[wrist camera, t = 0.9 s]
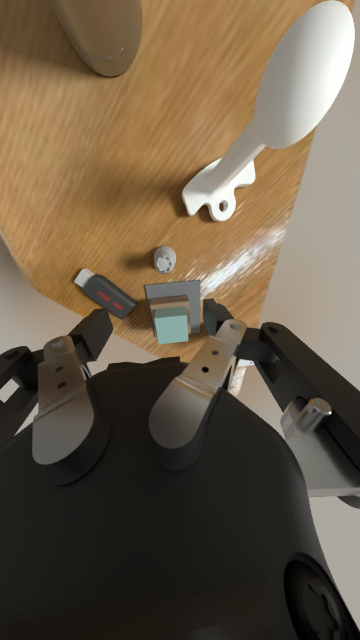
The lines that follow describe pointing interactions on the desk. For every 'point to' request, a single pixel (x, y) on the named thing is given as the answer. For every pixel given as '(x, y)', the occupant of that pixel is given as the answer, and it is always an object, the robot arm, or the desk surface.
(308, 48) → the white ball-topped post
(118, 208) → the desk surface
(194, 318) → the mat
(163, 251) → the rook chess piece
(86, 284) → the usb drive
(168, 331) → the teal block
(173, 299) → the walnut block
